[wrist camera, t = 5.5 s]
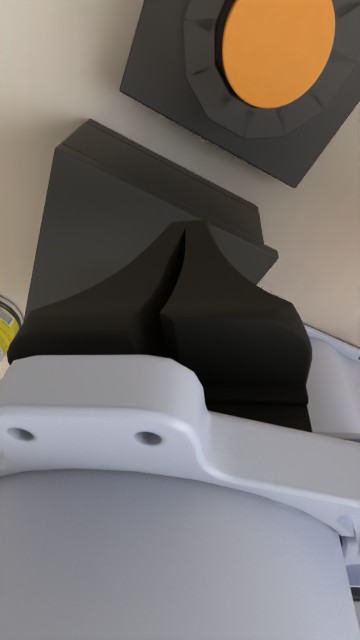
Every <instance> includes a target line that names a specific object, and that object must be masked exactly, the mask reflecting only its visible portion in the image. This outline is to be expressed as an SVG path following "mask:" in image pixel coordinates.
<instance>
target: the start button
mask: <svg viewBox="0 0 360 640" xmlns="http://www.w3.org/2000/svg"><path fill="white" fill-rule="evenodd" d="M334 34H335V14H334V8H333V3H332V0H235V2H234V4H233V5H232V8H231V10H230V12H229V14H228V17H227V20H226V23H225V27H224V32H223V41H222V58H223V65H224V70H225V74H226V77H227V79H228V81H229V83H230V85H231V87H232V89H233V90H234V91H235V93H236V94H237V95H238V96H239V97H240V98H241V99H242V100H244V101H245V102H247V103H249V104H251V105H253V106H256V107H259V108H277V107H281V106H284V105H286V104H289V103H291V102H293V101H294V100H296V99H298V98H299V97H300V96H302V95H303V94H304V93H305V92H306V91H307V90H308V89H309V88H310V87H311V86H312V85H313V84H314V83H315V81H316V80H317V79H318V77H319V76H320V74H321V72H322V71H323V69H324V67H325V65H326V63H327V60H328V58H329V55H330V52H331V49H332V45H333V41H334Z"/></svg>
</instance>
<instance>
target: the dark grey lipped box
mask: <svg viewBox="0 0 360 640" xmlns="http://www.w3.org/2000/svg"><path fill="white" fill-rule="evenodd" d="M61 144H63V145H65V146H67V147H69V148H71V149H73V150H75V151H77V152H79V153H81V154H83V155H85V156H87V157H89V158H91V159H93V160H95V161H97V162H99V163H101V164H103V165H105V166H107V167H109V168H111V169H113V170H115V171H117V172H119V173H121V174H123V175H125V176H127V177H129V178H131V179H133V180H135V181H137V182H139V183H141V184H143V185H145V186H147V187H149V188H152V189H154V190H156V191H158V192H160V193H162V194H164V195H166V196H168V197H170V198H172V199H174V200H176V201H178V202H180V203H182V204H184V205H186V206H188V207H190V208H192V209H194V210H196V211H198V212H200V213H202V214H204V215H206V216H208V217H210V218H212V219H214V220H216V221H218V222H220V223H222V224H224V225H226V226H228V227H230V228H232V229H234V230H236V231H238V232H240V233H242V234H244V235H246V236H248V237H250V238H252V239H254V240H256V241H258V242H260V243H262V244H264V241H263V235H262V229H261V223H260V217H259V213H258V207H257V206H255V205H254V204H252V203H250V202H248V201H246V200H244V199H242V198H240V197H238V196H236V195H234V194H233V193H231V192H229V191H227V190H225V189H223V188H221V187H219V186H217V185H215V184H214V183H212V182H210V181H208V180H206V179H204V178H202V177H200V176H198V175H196V174H194V173H193V172H191V171H189V170H187V169H185V168H183V167H181V166H179V165H177V164H175V163H173V162H172V161H170V160H168V159H166V158H164V157H162V156H160V155H158V154H156V153H154V152H153V151H151V150H149V149H147V148H145V147H143V146H141V145H139V144H137V143H135V142H133V141H132V140H130V139H128V138H126V137H124V136H122V135H120V134H118V133H116V132H114V131H112V130H111V129H109V128H107V127H105V126H103V125H101V124H99V123H97V122H95V121H93V120H92V119H89V120H87V121H86V122H85V123H84V124H83V125H81V126H80V127H79V128H78V129H77V130H76V131H75V132H73V133H72V134H71V135H70V136H69V137H68V138H67V139H65V140H64V141H63V142H62V143H61Z"/></svg>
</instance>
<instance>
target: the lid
mask: <svg viewBox="0 0 360 640" xmlns="http://www.w3.org/2000/svg"><path fill="white" fill-rule="evenodd" d="M194 220H207V221H208V222H210V229H211V232H212V234H213V237H214V239H215V241H216V242H217V244H218V246H219V248H220V249H221V251H222V252H223V253H224V255H225V256H226V258H227V259H228V260H229V261H230V263H231V264H232V265H233V266H234V267H235V268H236V269H237V270H238V271H239V272H240V273H241V274H242V275H243V276H244V277H246V278H247V279H248V280H250V281H251V282H252V283H254V284H255V285H257V284H258V282H259V281H260V280H261V279H262V278H263V276H264V275H265V274H266V273H267V271H268V270H269V269H270V268H271V267H272V265H273V264H274V263H275V262H276V261H277V259H278V258H279V257H278V252H277V251H276V250H274V249H272V248H270V247H268V246H266V245H264V244H262V243H260V242H258V241H256V240H254V239H252V238H250V237H248V236H246V235H244V234H242V233H240V232H238V231H236V230H234V229H232V228H230V227H228V226H226V225H224V224H222V223H220V222H218V221H216V220H214V219H212V218H210V217H208V216H206V215H204V214H202V213H200V212H198V211H196V210H194V209H192V208H190V207H188V206H186V205H184V204H182V203H180V202H178V201H176V200H174V199H172V198H170V197H168V196H166V195H164V194H162V193H160V192H158V191H156V190H154V189H152V188H149V187H147V186H145V185H143V184H141V183H139V182H137V181H135V180H133V179H131V178H129V177H127V176H125V175H123V174H121V173H119V172H117V171H115V170H113V169H111V168H109V167H107V166H105V165H103V164H101V163H99V162H97V161H95V160H93V159H91V158H89V157H87V156H85V155H83V154H81V153H79V152H77V151H75V150H73V149H71V148H69V147H67V146H65V145H63V144H60V145H58V146H57V147H56V148H55V152H54V157H53V163H52V168H51V174H50V179H49V185H48V190H47V196H46V201H45V207H44V212H43V218H42V223H41V229H40V234H39V240H38V245H37V251H36V256H35V262H34V267H33V273H32V278H31V284H30V289H29V295H28V300H27V306H26V311H25V317H24V321H25V319H26V318H27V316H28V315H29V313H30V312H31V310H34V309H37V308H40V307H43V306H46V305H49V304H52V303H55V302H58V301H61V300H63V299H66V298H68V297H71V296H73V295H75V294H78V293H80V292H82V291H84V290H86V289H88V288H90V287H92V286H94V285H96V284H98V283H99V282H101V281H103V280H105V279H106V278H108V277H110V276H112V275H113V274H115V273H116V272H118V271H119V270H121V269H122V268H123V267H125V266H126V265H128V264H129V263H130V262H131V261H133V260H134V259H135V258H136V257H137V256H138V255H139V254H141V253H142V252H143V251H144V250H145V249H146V248H147V247H148V246H149V245H150V244H151V243H152V242H153V241H154V240H155V239H156V238H157V237H158V236H159V235H160V234H161V233H162V232H163V231H164V230H165V229H166V228H167V226H168V225H169V224H170V223H171V222H179V221H194Z"/></svg>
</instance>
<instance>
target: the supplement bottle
mask: <svg viewBox="0 0 360 640" xmlns="http://www.w3.org/2000/svg"><path fill="white" fill-rule="evenodd" d="M22 324H23V319H22V316H21V314H20V312H19V311H18V309H17V308H16V307H15V306H14V305H13V304H11V303H10V302H9V301H7V300H6V299H4V298H2V297H0V363H1V361H2V359H3V358H4V356H5V354H6V353H7V351H8V348H9V345H10V343H11V342H12V340H13V338H14V337H15V335H16V334H17V332H18V330H19V329H20V327H21V326H22Z"/></svg>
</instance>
